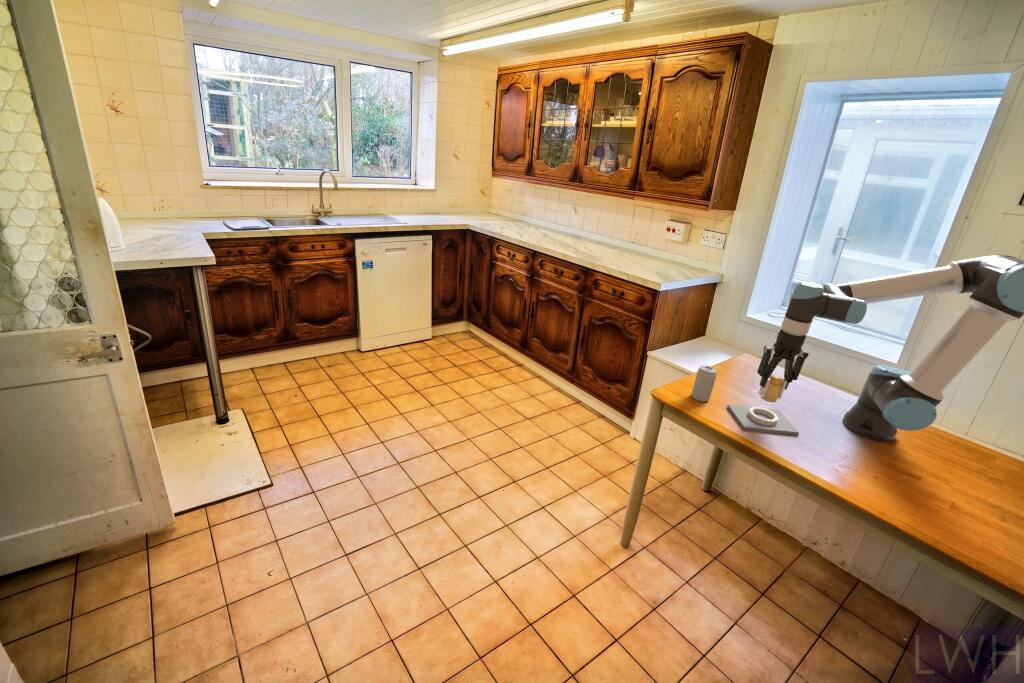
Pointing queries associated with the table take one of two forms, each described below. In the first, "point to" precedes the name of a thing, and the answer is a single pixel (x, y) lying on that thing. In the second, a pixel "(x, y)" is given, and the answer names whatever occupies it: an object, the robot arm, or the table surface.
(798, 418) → the table surface
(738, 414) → the collar board
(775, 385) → the nesting doll
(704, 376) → the beverage can
